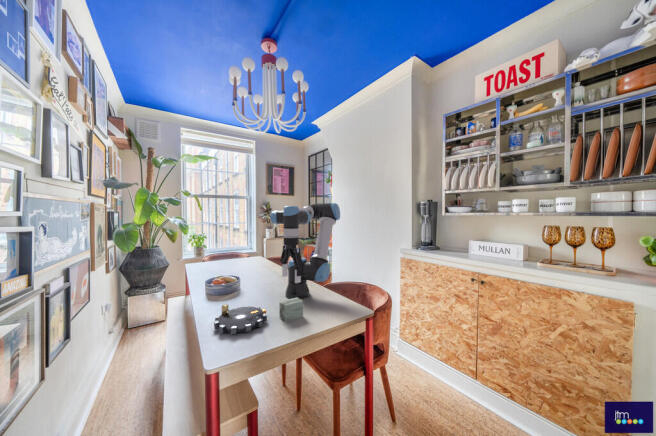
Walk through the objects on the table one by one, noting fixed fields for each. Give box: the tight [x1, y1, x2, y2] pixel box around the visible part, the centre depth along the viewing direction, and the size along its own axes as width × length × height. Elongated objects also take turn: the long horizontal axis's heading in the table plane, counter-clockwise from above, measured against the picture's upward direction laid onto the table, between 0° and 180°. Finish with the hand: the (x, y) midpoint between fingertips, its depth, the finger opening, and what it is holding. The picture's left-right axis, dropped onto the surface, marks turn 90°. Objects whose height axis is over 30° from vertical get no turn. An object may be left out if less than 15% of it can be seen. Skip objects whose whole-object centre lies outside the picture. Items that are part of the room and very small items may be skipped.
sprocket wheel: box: [213, 303, 268, 335], centre depth 107 cm, size 23×23×7 cm
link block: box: [279, 297, 304, 323], centre depth 113 cm, size 6×10×8 cm, turn 127°
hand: (291, 279), depth 113 cm, fingers open, 13 cm apart
